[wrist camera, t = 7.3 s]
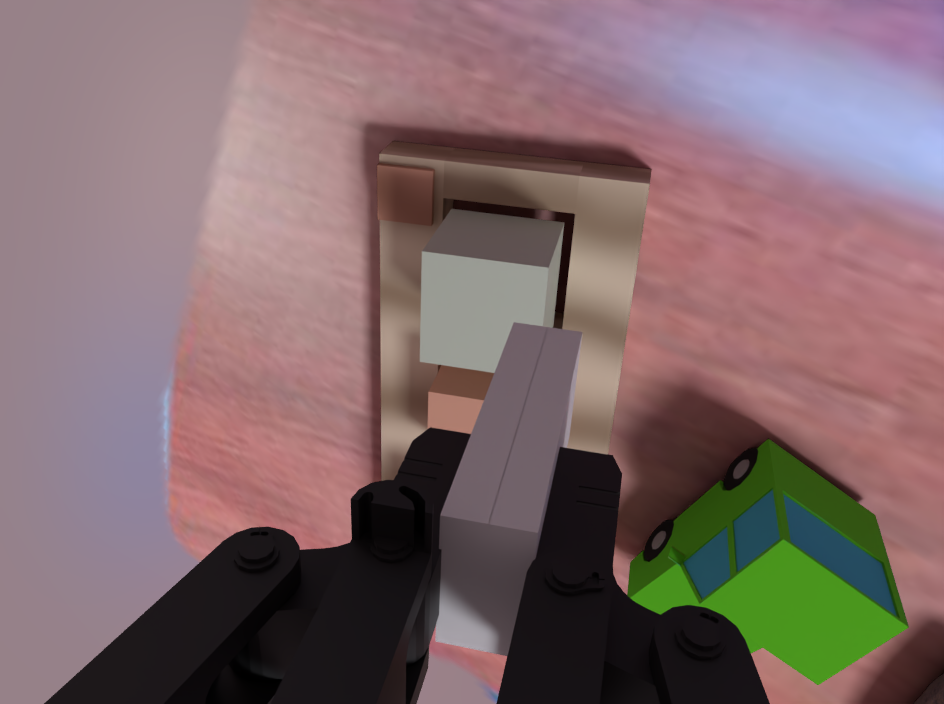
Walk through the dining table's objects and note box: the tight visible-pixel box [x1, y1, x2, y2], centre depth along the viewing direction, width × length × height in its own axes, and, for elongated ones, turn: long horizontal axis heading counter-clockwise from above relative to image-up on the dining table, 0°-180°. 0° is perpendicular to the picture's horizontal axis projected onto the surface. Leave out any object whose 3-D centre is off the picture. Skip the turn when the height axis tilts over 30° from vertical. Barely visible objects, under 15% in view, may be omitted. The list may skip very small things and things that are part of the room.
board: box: [377, 141, 651, 481], centre depth 52 cm, size 29×14×3 cm, turn 177°
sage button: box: [420, 209, 564, 373], centre depth 44 cm, size 6×6×6 cm
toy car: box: [627, 439, 909, 685], centre depth 50 cm, size 10×13×10 cm
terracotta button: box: [428, 365, 494, 434], centre depth 50 cm, size 6×6×6 cm
